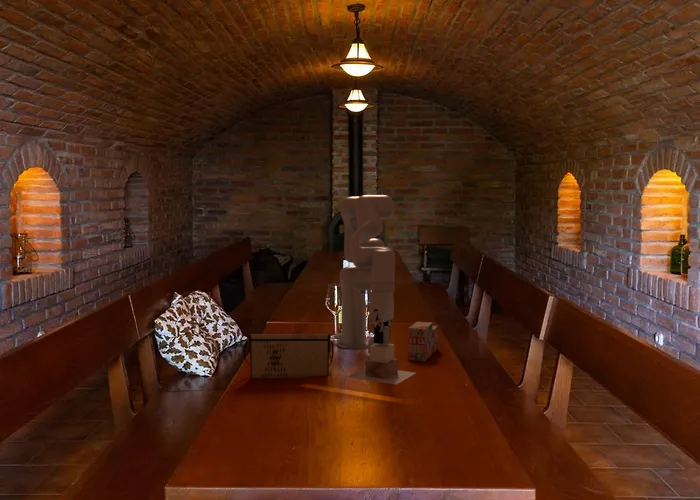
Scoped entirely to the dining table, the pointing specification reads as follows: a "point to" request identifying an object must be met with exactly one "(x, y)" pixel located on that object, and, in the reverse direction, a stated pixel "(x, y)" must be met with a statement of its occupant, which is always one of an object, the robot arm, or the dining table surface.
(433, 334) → the stack of blocks
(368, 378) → the grey board
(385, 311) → the robot arm
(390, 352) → the middle block
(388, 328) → the olive domed cylinder
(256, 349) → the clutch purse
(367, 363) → the base block
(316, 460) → the dining table surface
